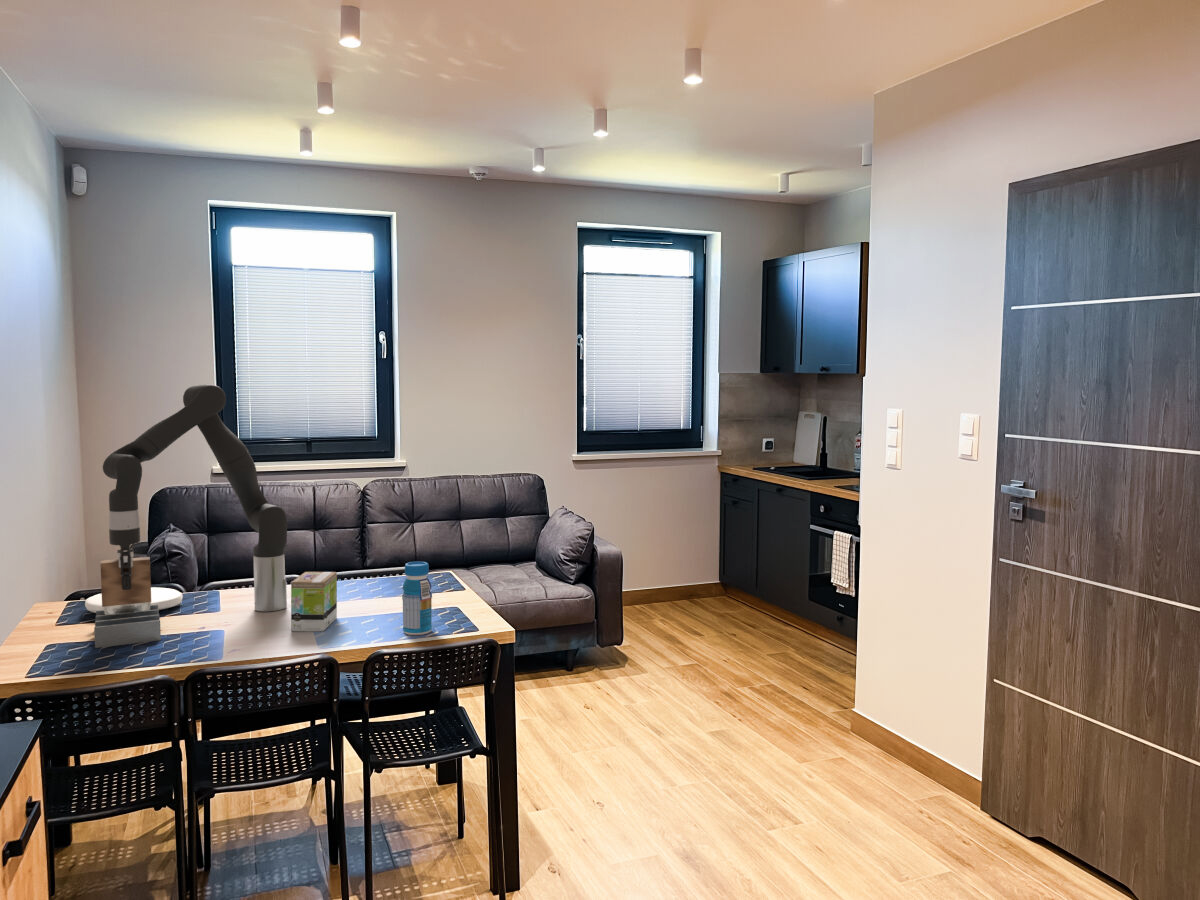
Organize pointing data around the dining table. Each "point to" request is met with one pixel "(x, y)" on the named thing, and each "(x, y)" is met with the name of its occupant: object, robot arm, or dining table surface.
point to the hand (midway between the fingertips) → (126, 587)
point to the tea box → (313, 601)
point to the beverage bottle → (417, 599)
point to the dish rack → (127, 624)
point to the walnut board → (113, 583)
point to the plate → (158, 597)
